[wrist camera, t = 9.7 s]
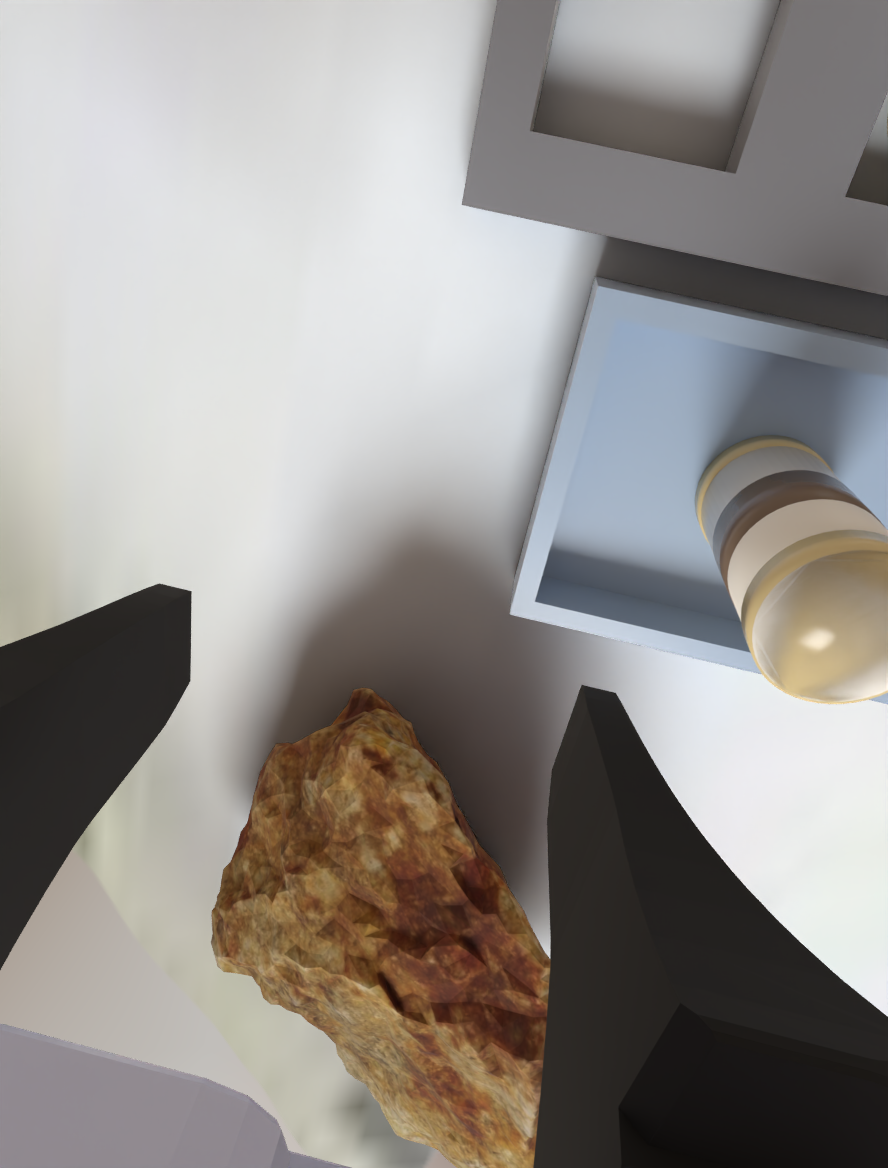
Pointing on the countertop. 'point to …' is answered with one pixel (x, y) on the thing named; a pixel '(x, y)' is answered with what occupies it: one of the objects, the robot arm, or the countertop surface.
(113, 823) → the countertop surface
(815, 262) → the fuse block
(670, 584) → the parts tray
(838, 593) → the scorched fuse
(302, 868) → the rock
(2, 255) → the countertop surface
